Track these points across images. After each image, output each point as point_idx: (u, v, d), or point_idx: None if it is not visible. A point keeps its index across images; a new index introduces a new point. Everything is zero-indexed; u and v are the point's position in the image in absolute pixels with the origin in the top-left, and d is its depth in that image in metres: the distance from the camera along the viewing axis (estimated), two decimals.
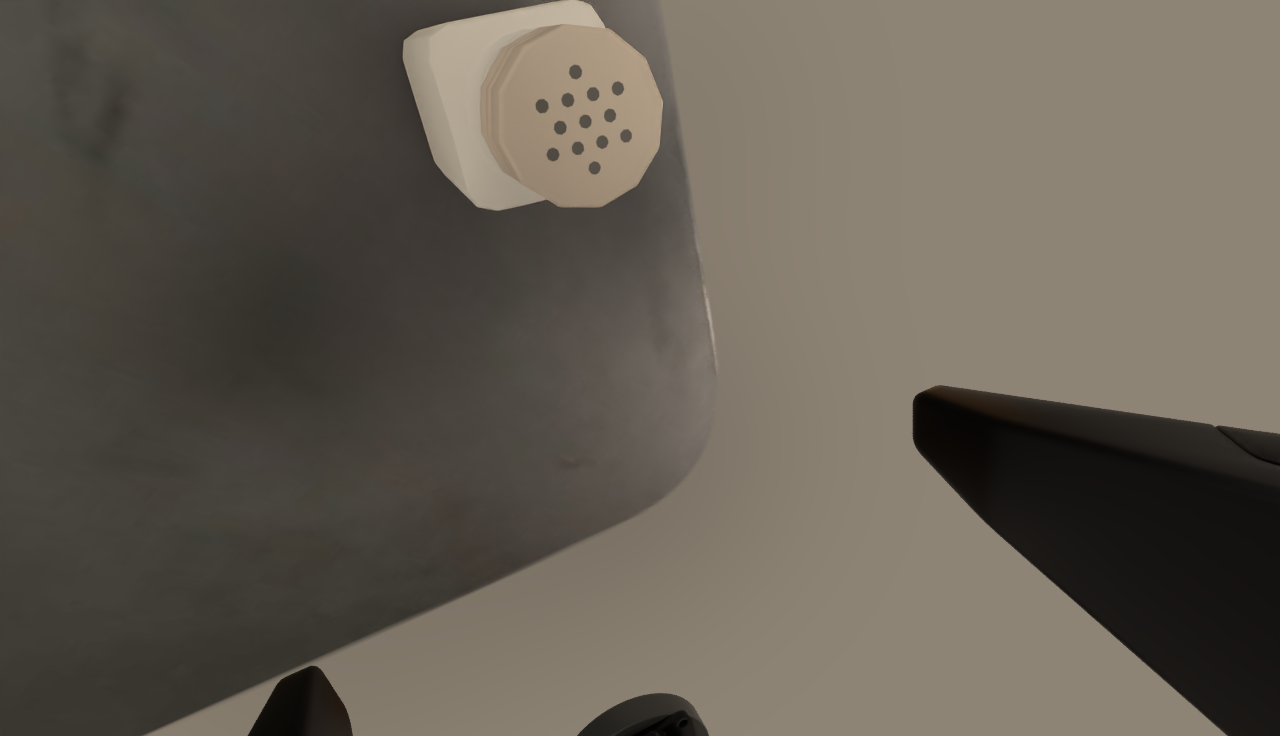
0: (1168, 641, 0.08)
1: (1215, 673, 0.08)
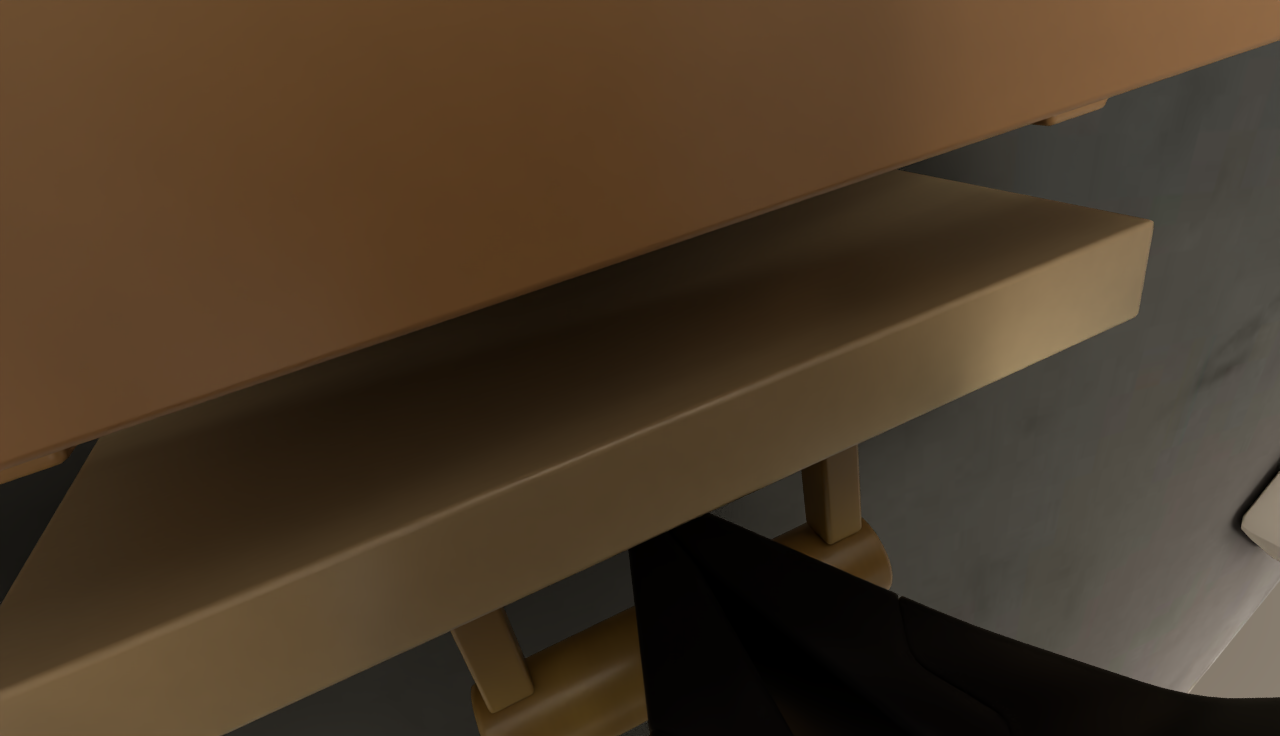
0: None
1: None
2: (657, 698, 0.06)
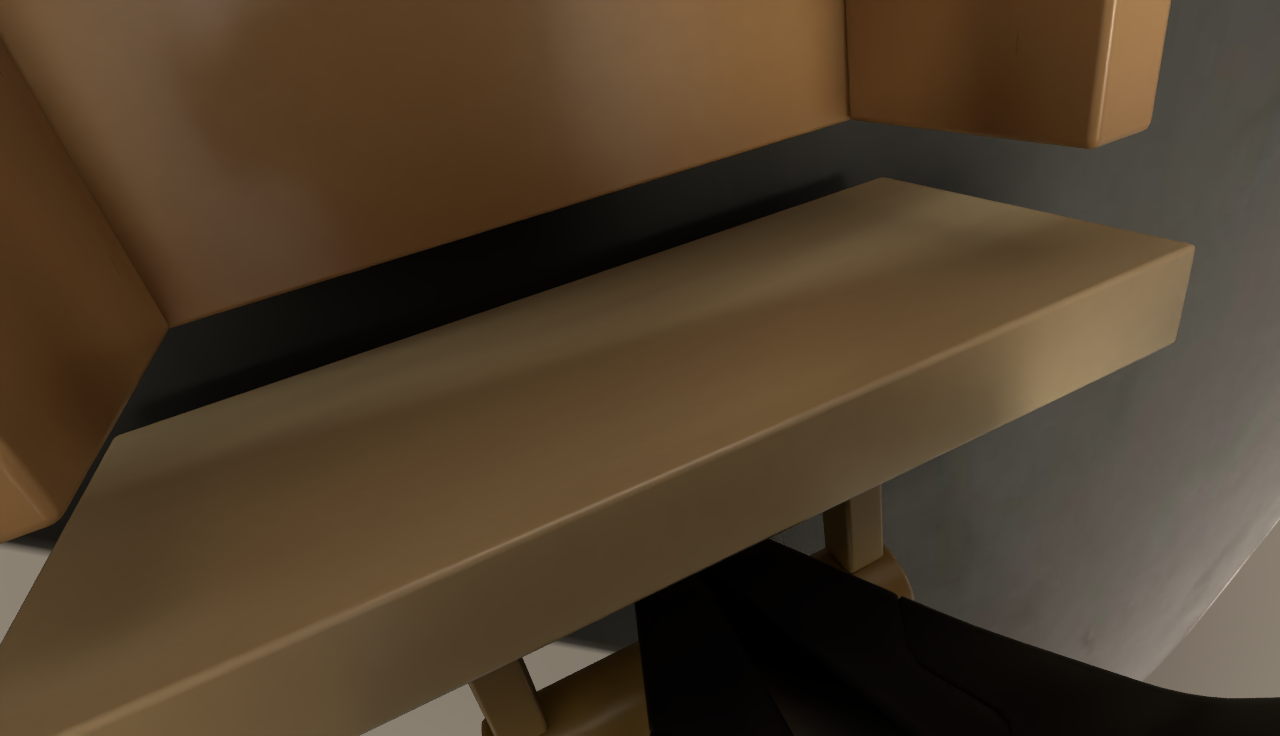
0: None
1: None
2: (657, 698, 0.06)
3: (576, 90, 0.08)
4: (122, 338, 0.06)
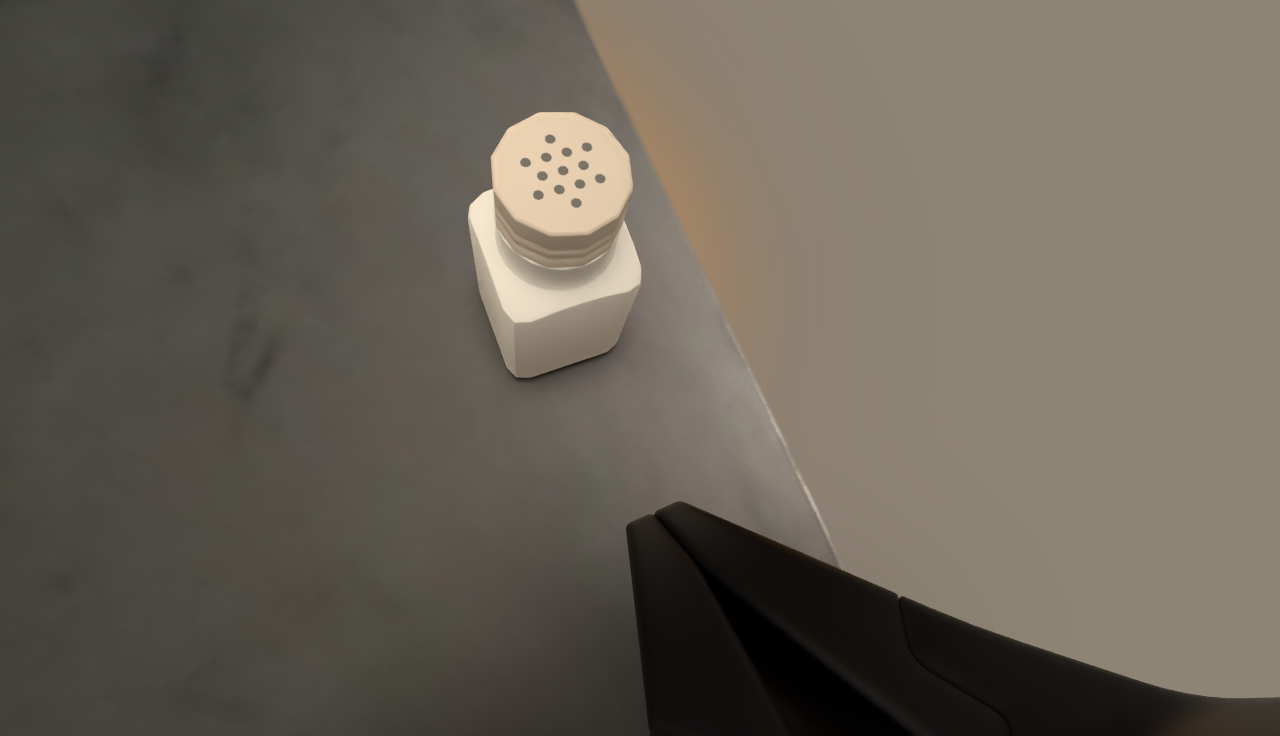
0: None
1: None
2: (657, 698, 0.06)
3: None
4: None
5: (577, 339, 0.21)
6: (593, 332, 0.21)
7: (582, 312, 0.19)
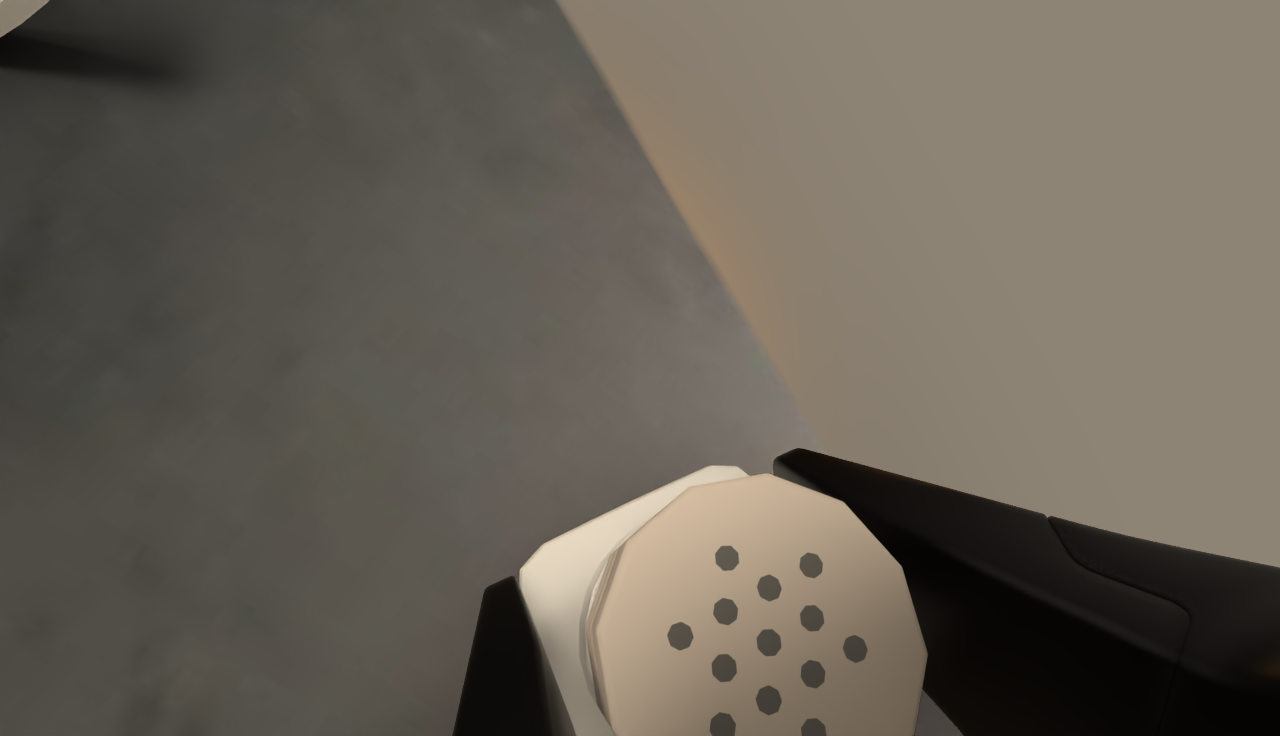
0: None
1: None
2: None
3: None
4: None
5: None
6: None
7: None
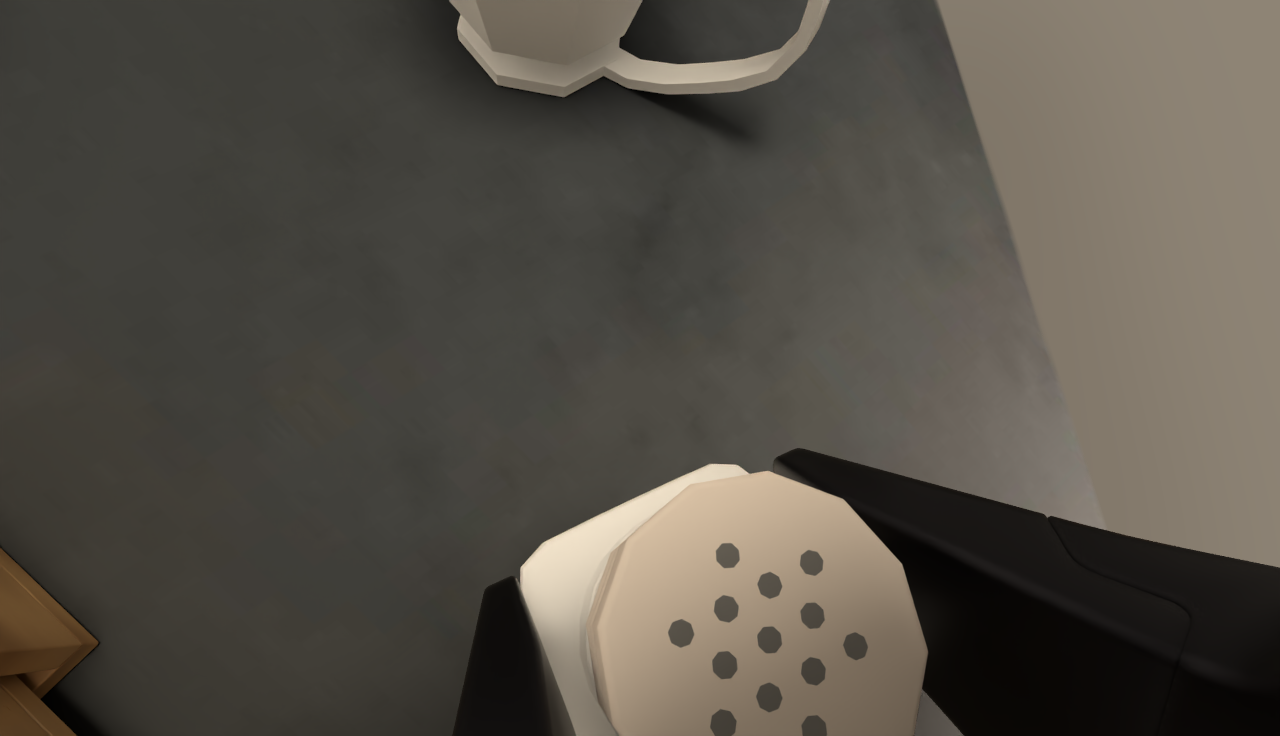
0: None
1: None
2: None
3: None
4: None
5: None
6: None
7: None
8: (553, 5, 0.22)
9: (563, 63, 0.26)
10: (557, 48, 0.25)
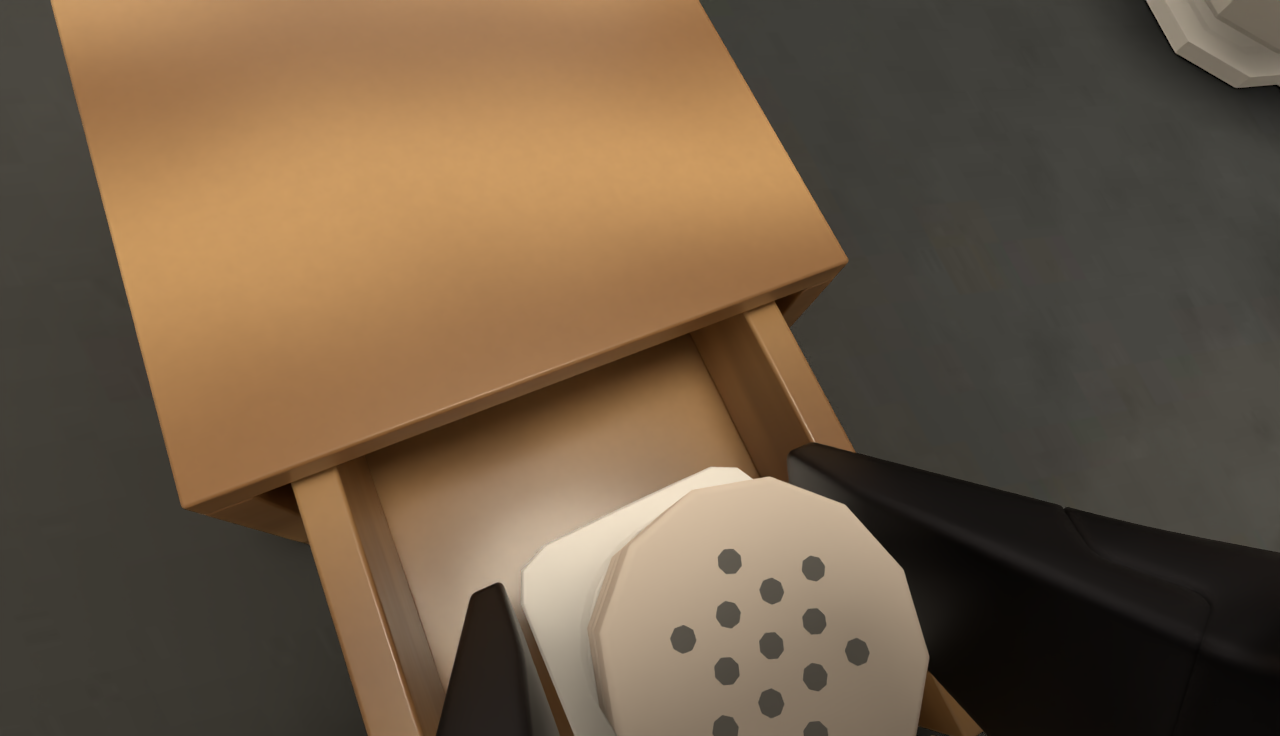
0: None
1: None
2: None
3: None
4: None
5: None
6: None
7: None
8: None
9: None
10: None
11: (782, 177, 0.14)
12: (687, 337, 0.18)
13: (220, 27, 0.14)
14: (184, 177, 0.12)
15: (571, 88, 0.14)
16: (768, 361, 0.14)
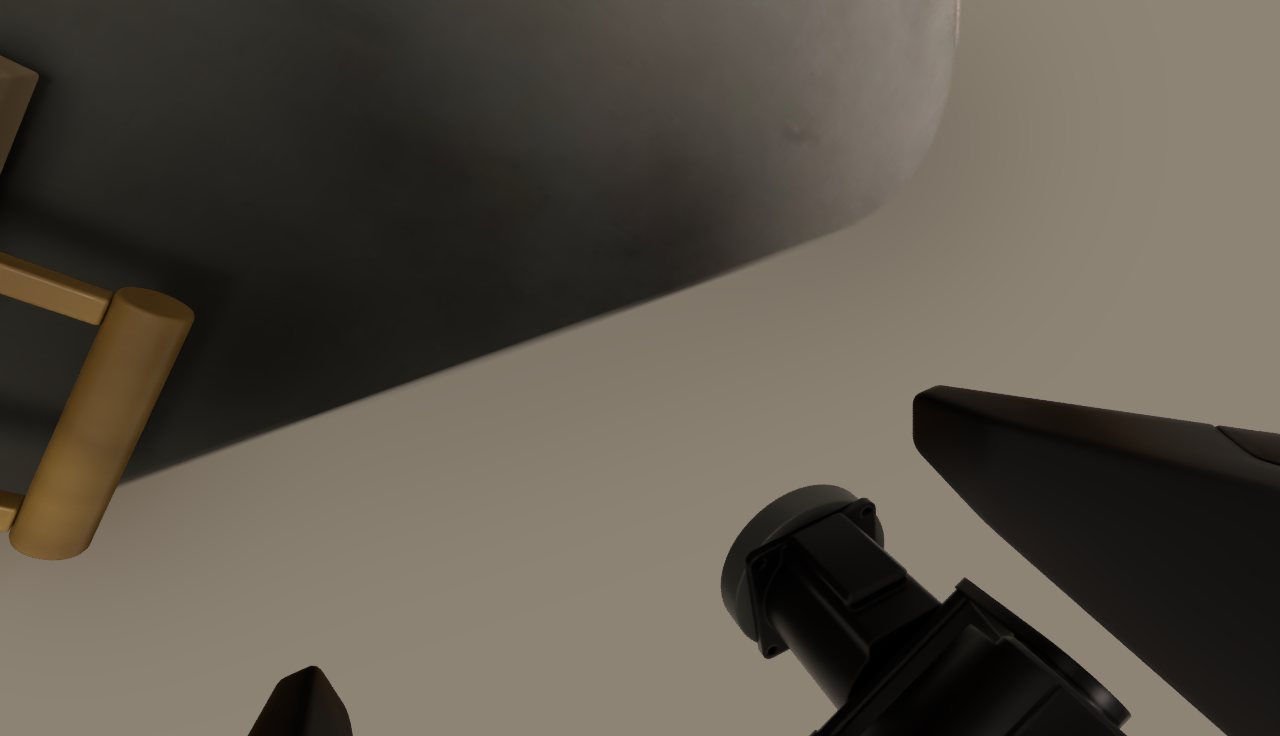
0: (1169, 641, 0.08)
1: (1215, 673, 0.08)
2: None
3: None
4: None
5: None
6: None
7: None
8: None
9: None
10: None
11: None
12: None
13: None
14: None
15: None
16: None
